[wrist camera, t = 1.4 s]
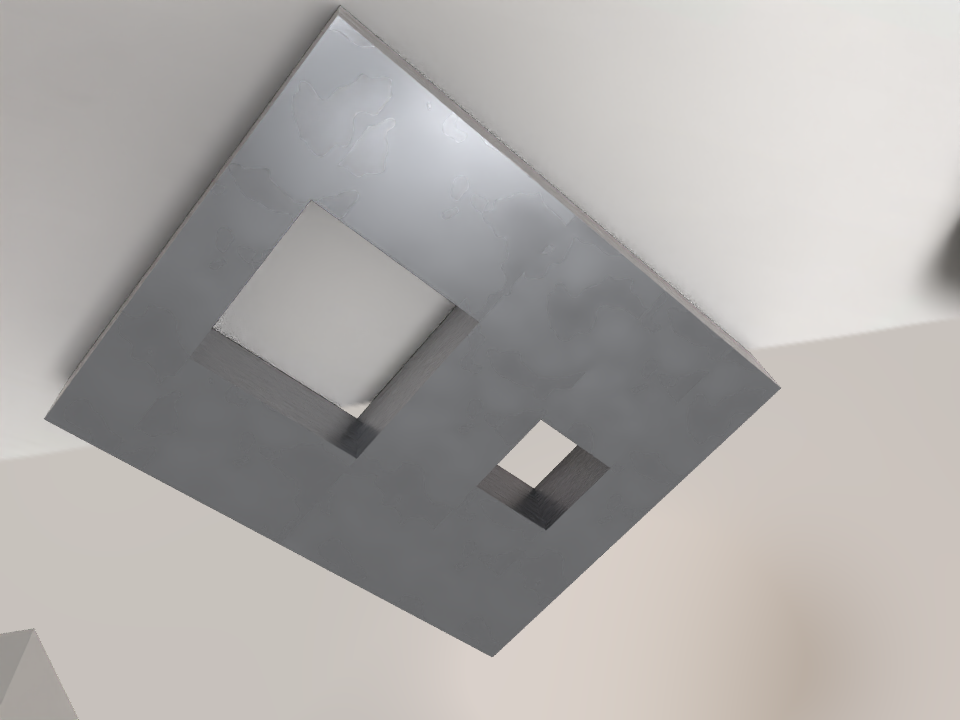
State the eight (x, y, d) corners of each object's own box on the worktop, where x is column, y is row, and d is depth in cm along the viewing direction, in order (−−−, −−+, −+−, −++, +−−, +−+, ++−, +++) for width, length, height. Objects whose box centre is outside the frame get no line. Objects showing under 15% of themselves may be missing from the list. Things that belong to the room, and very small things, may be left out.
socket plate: (68, 379, 34) (43, 419, 31) (340, 5, 29) (337, 15, 26) (484, 610, 42) (492, 657, 40) (751, 354, 37) (781, 388, 35)
